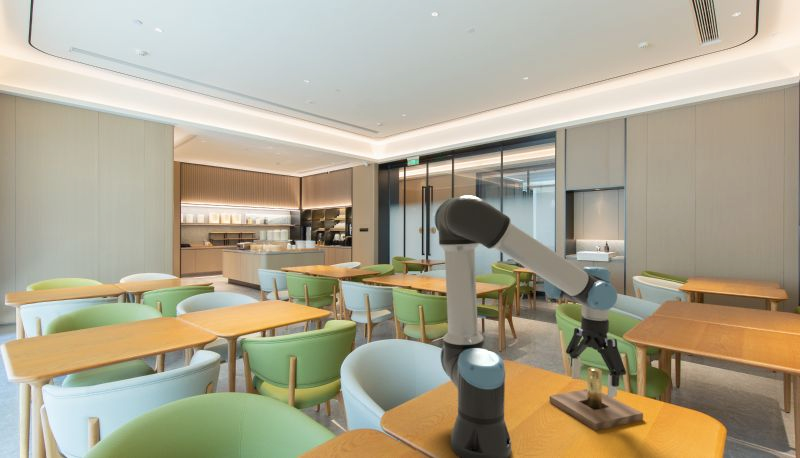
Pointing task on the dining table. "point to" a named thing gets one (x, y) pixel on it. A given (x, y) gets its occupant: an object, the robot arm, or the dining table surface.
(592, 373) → the pin
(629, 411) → the board
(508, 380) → the dining table surface
